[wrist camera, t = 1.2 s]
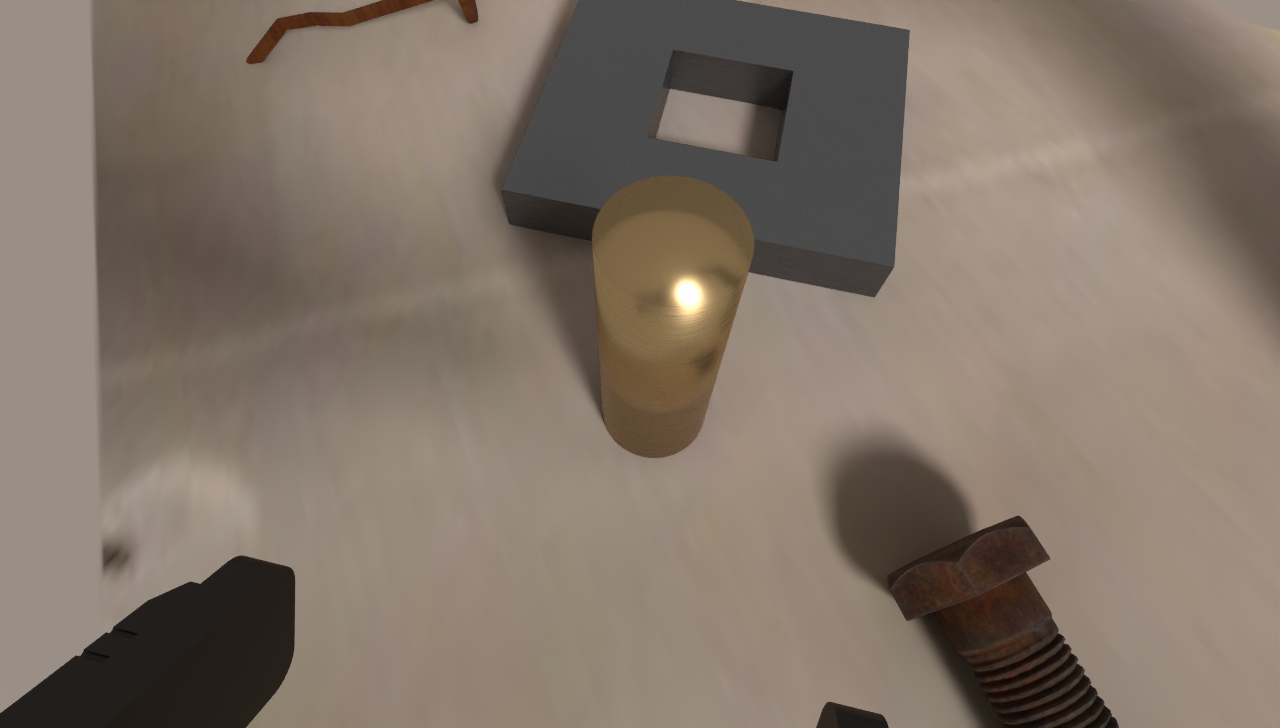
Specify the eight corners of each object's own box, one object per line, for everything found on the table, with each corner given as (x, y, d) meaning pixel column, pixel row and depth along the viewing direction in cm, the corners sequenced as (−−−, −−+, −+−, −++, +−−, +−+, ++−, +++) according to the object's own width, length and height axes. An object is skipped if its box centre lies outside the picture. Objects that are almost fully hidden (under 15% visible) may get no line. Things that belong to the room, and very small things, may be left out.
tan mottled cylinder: (712, 374, 30) (764, 191, 19) (694, 468, 28) (740, 323, 17) (615, 354, 30) (613, 162, 19) (591, 445, 28) (573, 288, 17)
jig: (893, 68, 39) (909, 30, 37) (874, 297, 32) (894, 266, 30) (591, 15, 40) (589, -25, 38) (509, 223, 33) (501, 189, 31)
